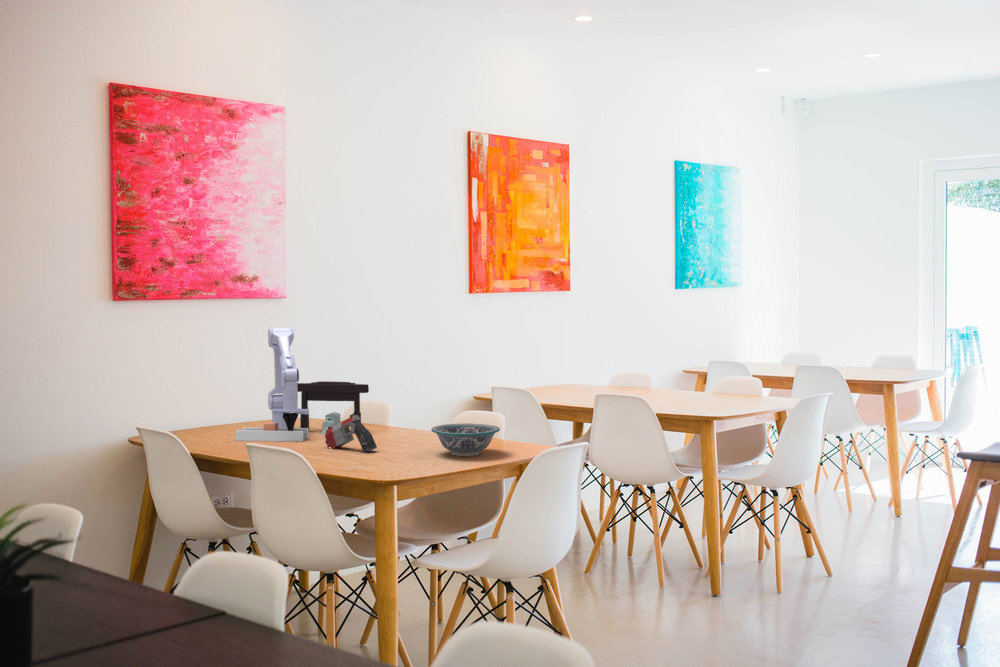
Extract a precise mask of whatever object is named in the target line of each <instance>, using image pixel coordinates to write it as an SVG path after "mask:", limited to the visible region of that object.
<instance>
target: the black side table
mask: <svg viewBox="0 0 1000 667" xmlns="http://www.w3.org/2000/svg"><path fill="white" fill-rule="evenodd" d="M297 384H298V392H299V393H300V395H301V398H300V399H301V400H300V401H301V402H300V404H301V406H300V407H301V408H300V409H309V403H308V402H309V401H312V402H353V413H352V414H355V415H358V416H359V418H360V419H361V420H359V421H360V422H361V423H362V413H361V394H366V393H367V394H368V393H369V392H370V389H369V384H366V383H363V384H362V383H356V382H351V381H329V380H328V381H324V380H323V381H321V380H320V381H319V380H318V381H311V382H305V383H304V382H302V383H301V382H297ZM299 415H300V418H299V419H300V420H299V421H300V428H308V432H309V431H310V413H309V414H308V415H307V414H299ZM341 416H342V414H341V413H340V412H336V411H333V412H331V413H327V414H326V415H325V416H324V417H325V420H324V421H322V425H321V428H322V431H321V435H324V434H325V431H326V430H327V429H328V427H330V426H331V427H333V426H335V425H337V424H339V423H340V422H341Z"/></svg>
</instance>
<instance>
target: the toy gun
mask: <svg viewBox="0 0 1000 667" xmlns="http://www.w3.org/2000/svg"><path fill="white" fill-rule="evenodd" d="M359 420H361V422H360V421H359ZM353 435H355V436H356V438H357V440H358V442H359V444H360V447H361V450H362V453H367V452H370V451H373V450H376V449H377V448H378V446H377V444H376V441H375V439H374V437H373V434H372V433H371V432H370V431H369V429H367V427H366V426H365V425H364V424H363V423H362V418H361V419H360V418H359V416H358V415H355V414H353V413H352V414H350V415H349V418H348V417H347V419H344V420H342V421H340V423H339V424H337V425H335V426H333V427H331V426H330V427H328V429H327V430H326V431H325V435H324V438H325V444H326V445H327V448H328V447H331V448H332V449H336V448H335V447H337V448H340V446H341V447H342V446H344V445H347V444H349V443H350V442H352V441H355V438H354V436H353Z"/></svg>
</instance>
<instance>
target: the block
mask: <svg viewBox="0 0 1000 667" xmlns="http://www.w3.org/2000/svg"><path fill="white" fill-rule="evenodd" d="M263 428H264V431H278V422H272V421H271V422H268V421H267V422H265V423H263Z"/></svg>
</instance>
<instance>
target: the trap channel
mask: <svg viewBox="0 0 1000 667" xmlns="http://www.w3.org/2000/svg"><path fill="white" fill-rule="evenodd" d="M307 438H308V439H309V431H308V428H301V427H294V429H293V431H288V428H278V431H264V427H241V430H239V429H238V430H235V441H237V442H295V441H296V442H297V441H303V442H305V441H307V440H308V439H307Z"/></svg>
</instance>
